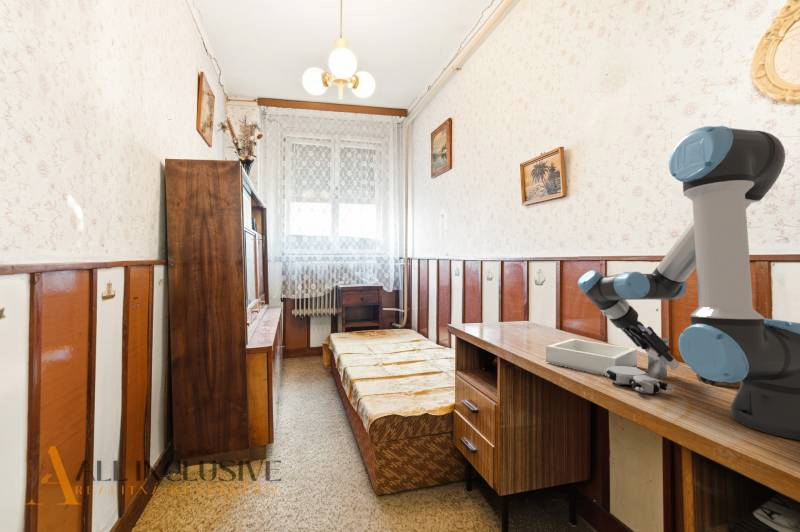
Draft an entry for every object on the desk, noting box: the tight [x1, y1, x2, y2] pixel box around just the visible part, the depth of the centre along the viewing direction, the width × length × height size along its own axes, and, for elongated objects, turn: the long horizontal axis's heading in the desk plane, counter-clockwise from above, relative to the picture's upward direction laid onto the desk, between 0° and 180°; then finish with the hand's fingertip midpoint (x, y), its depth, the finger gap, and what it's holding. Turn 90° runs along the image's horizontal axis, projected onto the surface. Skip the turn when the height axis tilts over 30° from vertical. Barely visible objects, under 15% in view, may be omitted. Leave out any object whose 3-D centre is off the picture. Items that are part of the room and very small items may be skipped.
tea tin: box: [647, 337, 669, 380], centre depth 114 cm, size 5×5×12 cm
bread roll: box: [695, 373, 741, 388], centre depth 109 cm, size 10×10×8 cm
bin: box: [545, 338, 638, 376], centre depth 127 cm, size 22×22×6 cm
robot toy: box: [600, 366, 675, 394], centre depth 103 cm, size 12×4×15 cm
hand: (669, 364), depth 114 cm, fingers closed on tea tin, 5 cm apart
